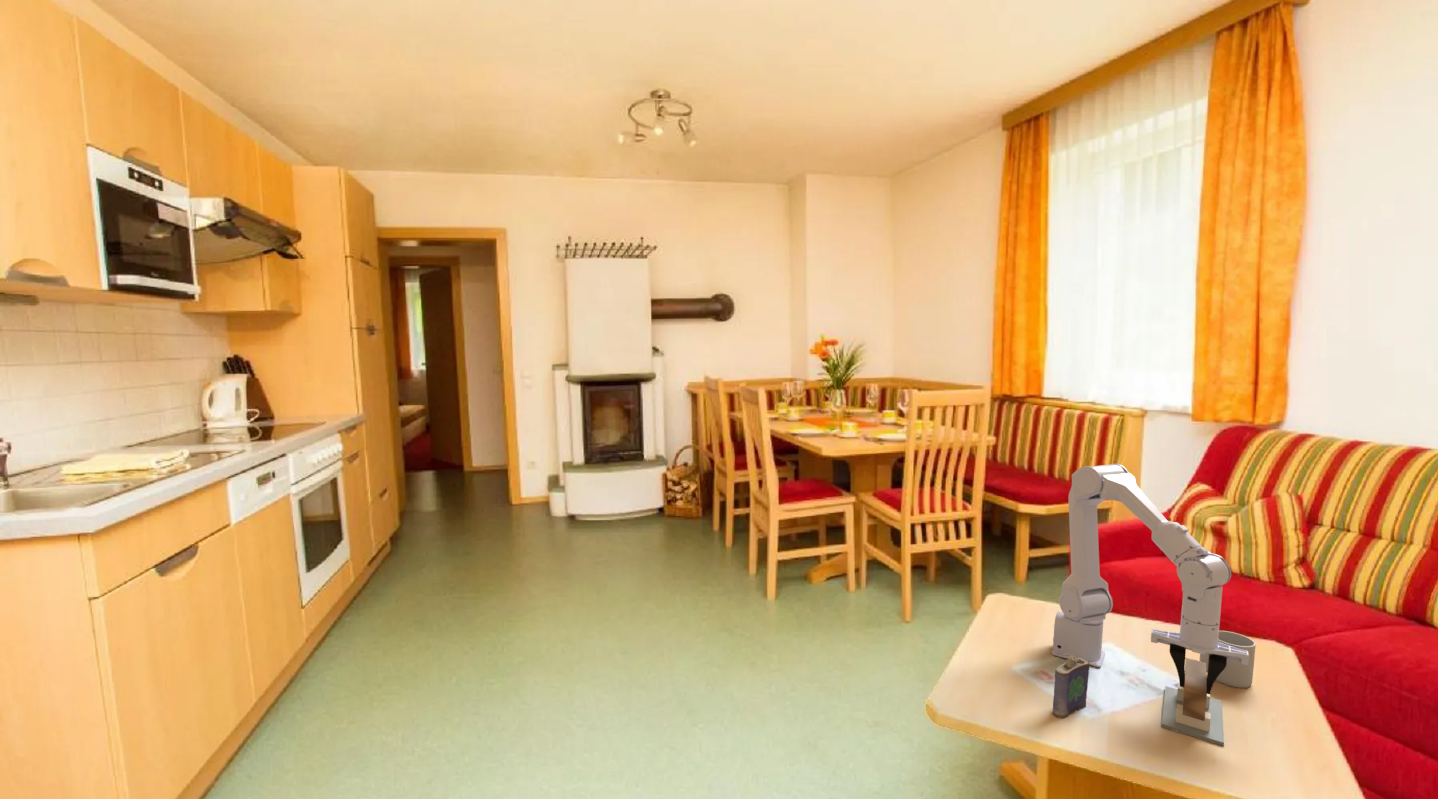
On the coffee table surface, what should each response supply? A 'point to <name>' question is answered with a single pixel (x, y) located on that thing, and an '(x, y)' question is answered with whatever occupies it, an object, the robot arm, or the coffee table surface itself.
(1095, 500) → the robot arm
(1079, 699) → the flask
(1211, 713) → the stand
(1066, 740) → the coffee table surface
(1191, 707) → the case
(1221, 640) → the cup
